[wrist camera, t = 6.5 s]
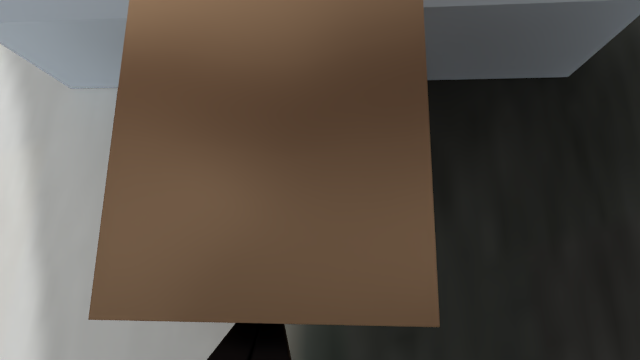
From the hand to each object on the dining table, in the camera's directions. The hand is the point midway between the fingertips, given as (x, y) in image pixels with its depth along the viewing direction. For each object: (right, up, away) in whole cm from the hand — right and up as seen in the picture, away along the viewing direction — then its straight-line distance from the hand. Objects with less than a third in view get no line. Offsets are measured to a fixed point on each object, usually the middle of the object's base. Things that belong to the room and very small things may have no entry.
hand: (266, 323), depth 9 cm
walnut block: (+1, +3, +8) cm, 8 cm away
